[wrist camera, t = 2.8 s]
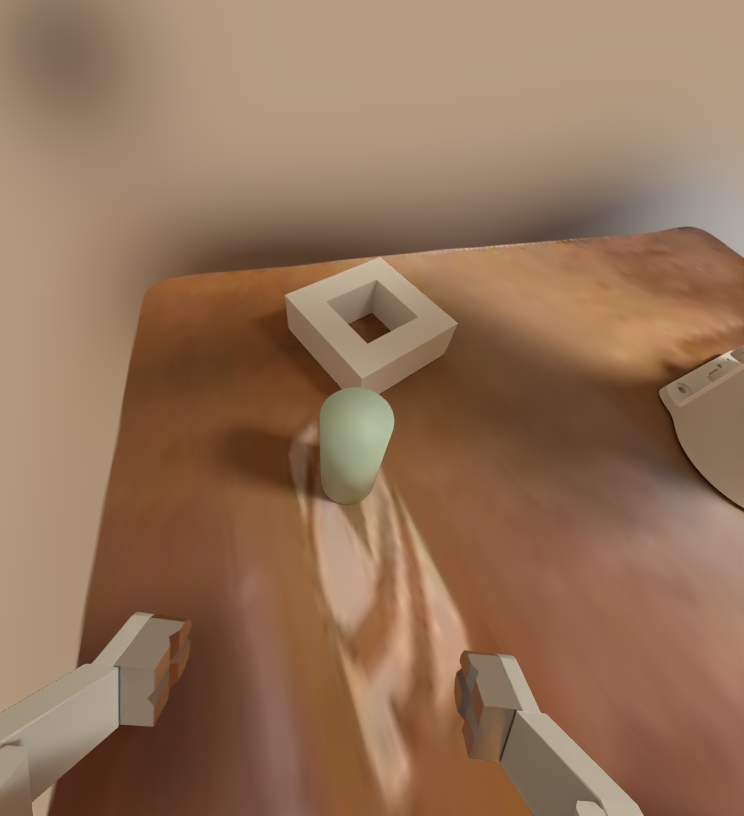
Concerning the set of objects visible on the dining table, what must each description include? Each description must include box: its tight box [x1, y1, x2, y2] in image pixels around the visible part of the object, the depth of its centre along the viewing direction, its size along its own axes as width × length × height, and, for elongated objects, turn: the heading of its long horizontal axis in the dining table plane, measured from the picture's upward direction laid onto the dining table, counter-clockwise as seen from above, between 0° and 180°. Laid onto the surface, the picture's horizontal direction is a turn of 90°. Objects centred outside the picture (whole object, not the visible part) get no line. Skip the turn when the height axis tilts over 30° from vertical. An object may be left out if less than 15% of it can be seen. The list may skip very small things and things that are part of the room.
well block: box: [285, 257, 458, 394], centre depth 35 cm, size 12×12×4 cm
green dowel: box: [319, 387, 394, 505], centre depth 24 cm, size 4×4×10 cm
